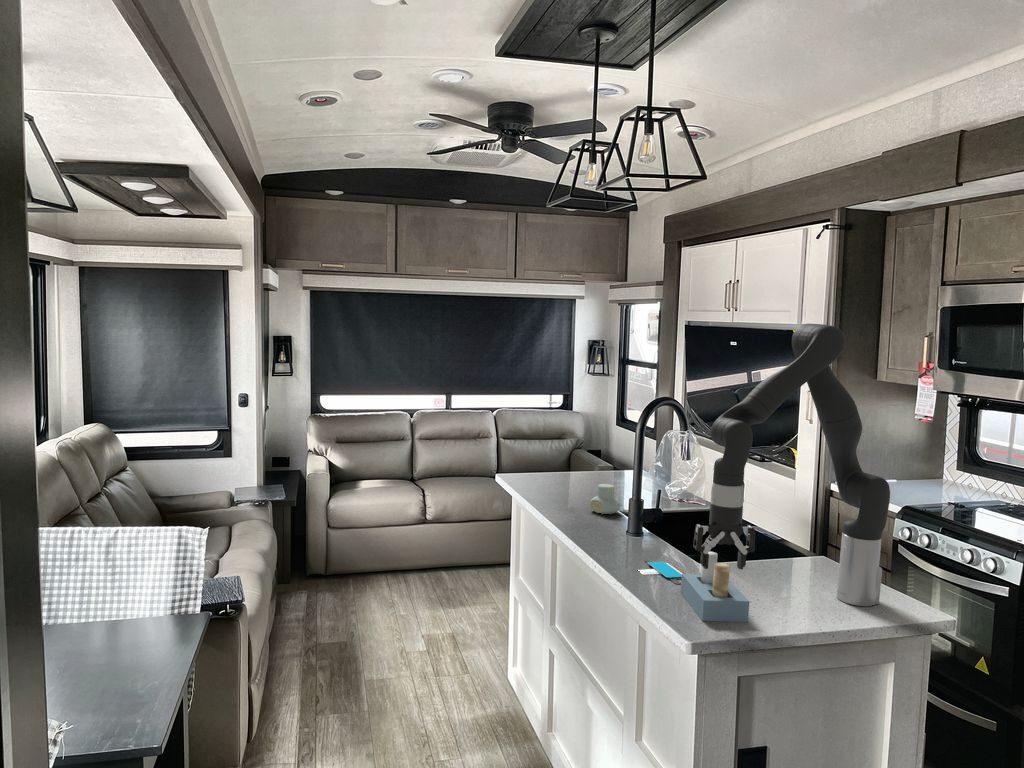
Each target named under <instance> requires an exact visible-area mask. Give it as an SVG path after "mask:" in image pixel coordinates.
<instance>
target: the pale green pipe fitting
mask: <svg viewBox="0 0 1024 768" xmlns="http://www.w3.org/2000/svg"><path fill="white" fill-rule="evenodd" d="M589 506H590V508H591V510H592V511H594V512H595V513H597V514H598V513H601V514H600V515H603V514H609V515H613V514H616V513H618V511H620V509H621V502H620V501H619V499H618V498H617V497H615V486H614V485H613V484H609V483H600V484H598V485H597V495H596V496H594V497H593V498H591V500H590V502H589Z"/></svg>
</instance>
